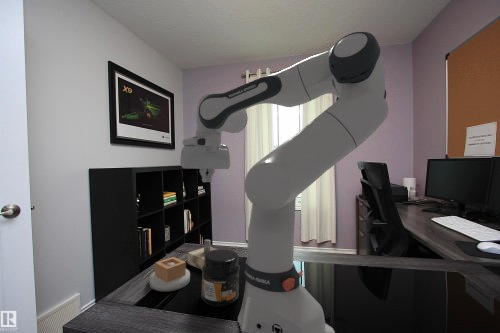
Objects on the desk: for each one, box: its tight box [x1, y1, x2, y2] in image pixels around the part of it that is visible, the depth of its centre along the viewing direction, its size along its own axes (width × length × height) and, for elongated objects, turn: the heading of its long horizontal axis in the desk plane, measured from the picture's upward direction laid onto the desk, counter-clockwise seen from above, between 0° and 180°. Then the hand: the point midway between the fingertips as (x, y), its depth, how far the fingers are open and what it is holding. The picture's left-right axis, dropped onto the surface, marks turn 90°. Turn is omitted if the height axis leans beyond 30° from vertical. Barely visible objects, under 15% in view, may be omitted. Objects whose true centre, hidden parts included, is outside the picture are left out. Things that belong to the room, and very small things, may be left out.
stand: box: [186, 239, 217, 271], centre depth 89 cm, size 10×10×8 cm
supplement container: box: [201, 248, 241, 308], centre depth 66 cm, size 10×10×12 cm
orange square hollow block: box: [154, 256, 187, 282], centre depth 74 cm, size 7×7×4 cm
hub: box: [149, 262, 191, 292], centre depth 74 cm, size 12×12×6 cm
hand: (206, 182), depth 82 cm, fingers closed
